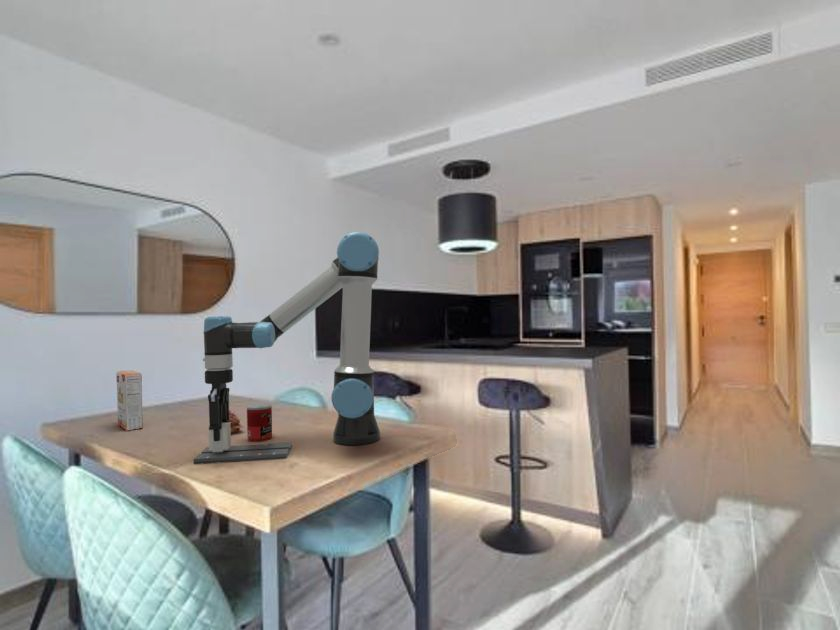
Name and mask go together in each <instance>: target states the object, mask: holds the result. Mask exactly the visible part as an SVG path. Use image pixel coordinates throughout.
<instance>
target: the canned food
mask: <svg viewBox="0 0 840 630" xmlns="http://www.w3.org/2000/svg"><path fill="white" fill-rule="evenodd" d="M272 414H273V407H272V404H269V403H255V404H249V405H247V406H246V424H247V425H246V426H247V427H246V430H247V436H246V437H247V439H248V441H249V442H255V441H257V442H265V440H266V441H268V440H270V439H271V438H272V436H273V415H272Z"/></svg>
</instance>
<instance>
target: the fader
mask: <svg viewBox="0 0 840 630" xmlns="http://www.w3.org/2000/svg"><path fill="white" fill-rule="evenodd" d="M209 428H210V427H209V426H208V447H209V451H213V445H212V430H209ZM222 428H223V450H228V449H229V448H230V447H231V446H232V437H231V436H232V432H231V422H228V423H222ZM222 428H221V429H222ZM218 453H221V452H218Z"/></svg>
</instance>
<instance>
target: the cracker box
mask: <svg viewBox="0 0 840 630" xmlns="http://www.w3.org/2000/svg"><path fill="white" fill-rule="evenodd" d="M142 375H143V374H142V373H141V372H137V371H135V370H121V371H116V398H117V399H116V400H117V405H116V406H117V424H118V426H119V427H120V426H121V428H122V429H123V430H124V429H125V430H126V431H125V432H128V431H127V430H131V431H135V430H134V429H136V430H141V429H140V428H142V429H143V428H144V422H143V421H144V420H143V419H144V418H143V385H142V383H143V382H142V381H143V380H142V378H143V377H142Z"/></svg>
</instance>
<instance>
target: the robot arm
mask: <svg viewBox="0 0 840 630" xmlns="http://www.w3.org/2000/svg"><path fill="white" fill-rule="evenodd" d="M379 252H380V251H379V245H378V244H377V241H376V240H375V239H374V238H373V237H372V236H371V235H369V234H368V233H366V232H362V231H351V232H349V233H348V234H346V235H345V236H343V237H342V238H341V239H340V241H339V243H338V246H337V249H336V255H337V257H336V258H335V259H333V260H332V262H331V265H330V267H329V268H328V269H326V270H325V271H323V272H322V273H321V274H320V275H318V276H317V277H316V278H314V279H313V280H312V281H310V283H308V284H307V285H305V286H304V287H302V288H301V289H300V290H298V291H297V292H296V293H295V294H294V295H292V296H291V297H290V298H289V299H287V300H286V301H284V303H282V304H281V305H280V306H278V307H277V308H275V310H273V311H272V312H271V313H270V314H268V315H267V316H265V317H264V318H263V319H261V320H260V321H253V322H233V319H232V317H231V316H228V315H226V316H225V315H224V316H222V315H221V316H207V317H205V319H204V323H203V345H204V346H203V347H204V358H202V361H203V362H204V369H205V371H204V383H205V384H207V385H211V390H210V391H209V392H210V393H209V394H208V395H207V398H208V399H207V401H208V414H209V415H208V416H209V421H208V422H209V425H208V431H209V430H212V445H213V452H223V428H222V423H228V422H230V421H229V410H230V390H231V389H230V388H229V387H227V384H229V383H232V382H233V380H234V379H233V378H234V377H233V376H234V375H233V374H234V372H233V371H234V370H233V369H232V368H233V367H234V366H233V365H234V364H233V363H234V362H233V360H234V359H233V349H265V348H271V347H273V346H274V344H275V342H277V340H278V338H280V337H281V336H282V335H283V334H285V333H286V332H287V331H288V330H290V329H291V328H292V327H294V325H296V324H297V323H299V322H300V321H301V320H302V319H304V318H306V317H307V316H308V315H309V314H310V313H312V312H313V311H314V310H316V308H318V307H319V306H321V305H322V304H323V303H324V302H326V301H327V300H329V299H330V298H331V297H332V296H333V295H335V294H336V293H337V292H339V291H340V290H341V289H342V297H341V298H342V300H341V321H340V322H341V323H340V324H341V325H340V326H341V327H340V349H339V350H340V352H339V365H338V366H337V367H336V368H334V371H333V373H334V374H333V375H334V376H333V390H332V392H331V396H330V397H331V403H332V407H333V408H334V410H335V411H336V412H337V414H338V415H337V420H336V424H335V428H334V430H333V434H332V436H333V437H332V441H333V442H334V443H336V444H338V445H343V446H344V445H346V446H360V445H367V444H371V443H375V442H378V441H379V440H380V439H381V432H380V431H381V430H380V428H379V425H378V422H377V419H376V416H375V392H374V386H375V385H374V384H375V383H374V379H375V376H374V373H375V372H374V369H373V368H372V367H371V366H370V348H371V347H370V344H371V321H372V319H371V318H372V296H373V295H372V294H373V293H372V291H373V290H372V289H373V285H374V284H375V283H376V281H378V265H379V254H380V253H379ZM209 427H210V428H209ZM221 428H222V429H221Z"/></svg>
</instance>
